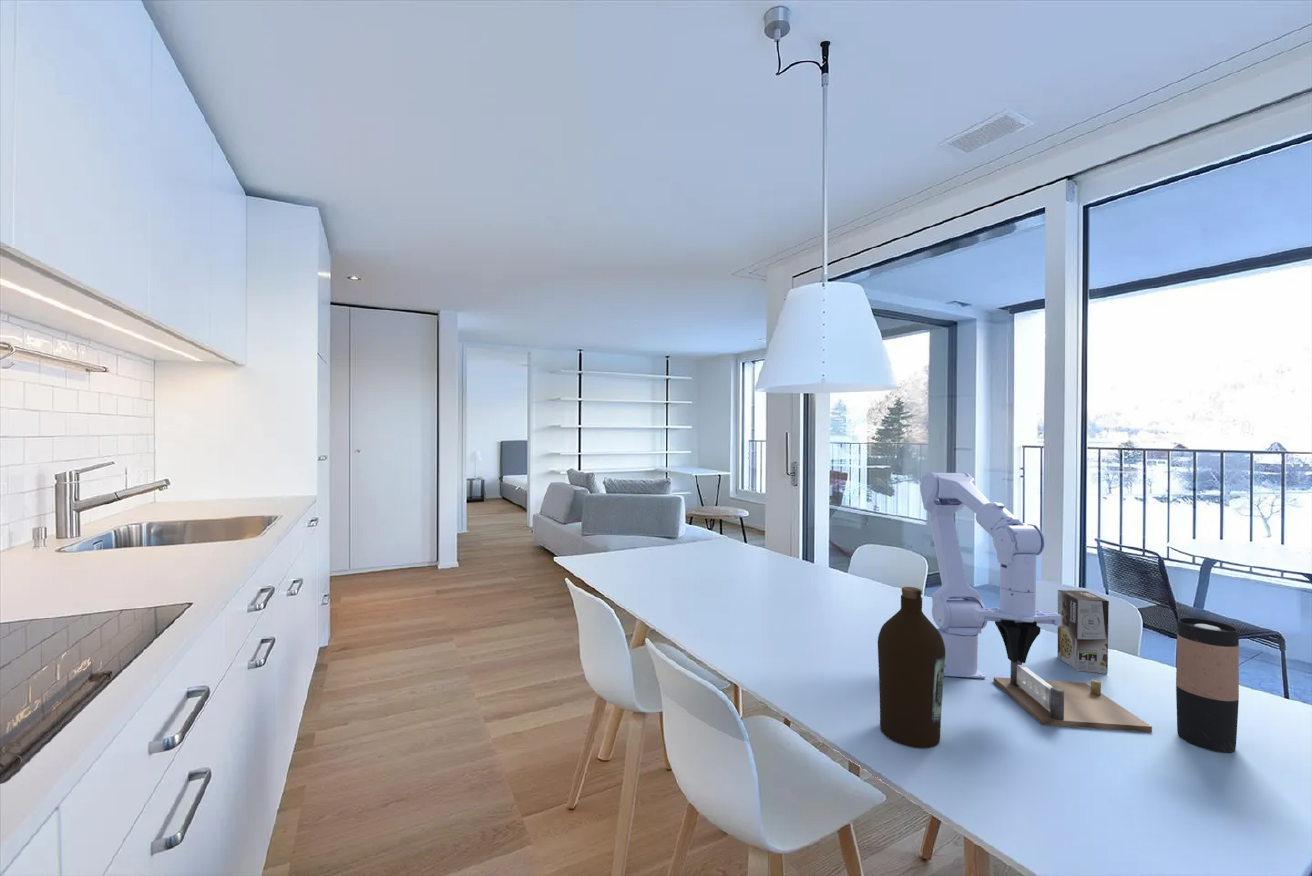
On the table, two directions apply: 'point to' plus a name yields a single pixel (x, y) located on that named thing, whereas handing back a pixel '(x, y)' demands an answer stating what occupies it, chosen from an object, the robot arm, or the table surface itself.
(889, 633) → the olive oil
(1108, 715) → the board
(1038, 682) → the gate
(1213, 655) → the travel mug
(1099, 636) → the coffee box
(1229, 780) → the table surface
